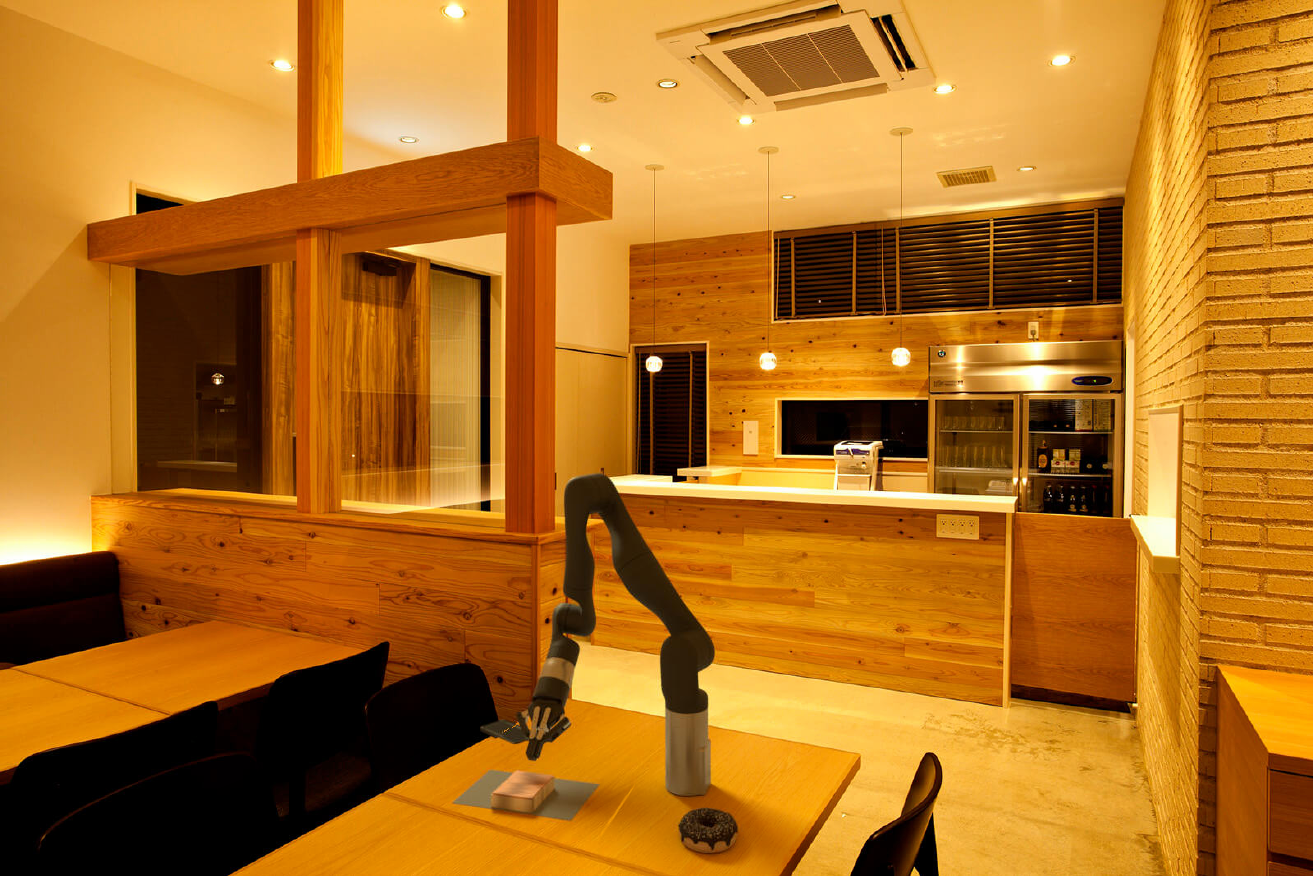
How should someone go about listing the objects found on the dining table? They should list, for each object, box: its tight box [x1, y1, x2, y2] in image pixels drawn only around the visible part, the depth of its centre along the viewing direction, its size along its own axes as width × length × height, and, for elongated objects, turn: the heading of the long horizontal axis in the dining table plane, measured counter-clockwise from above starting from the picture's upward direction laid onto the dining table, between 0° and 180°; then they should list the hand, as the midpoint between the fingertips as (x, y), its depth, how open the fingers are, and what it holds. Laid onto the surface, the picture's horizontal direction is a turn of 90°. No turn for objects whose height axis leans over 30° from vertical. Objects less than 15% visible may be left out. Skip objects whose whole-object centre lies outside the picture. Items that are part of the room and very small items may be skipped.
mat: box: [451, 769, 600, 822], centre depth 162 cm, size 26×16×1 cm, turn 74°
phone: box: [480, 719, 531, 745], centre depth 196 cm, size 8×1×15 cm
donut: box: [677, 807, 739, 854], centre depth 145 cm, size 11×12×4 cm
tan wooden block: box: [491, 770, 556, 813], centre depth 161 cm, size 9×3×11 cm
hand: (531, 759), depth 164 cm, fingers closed
